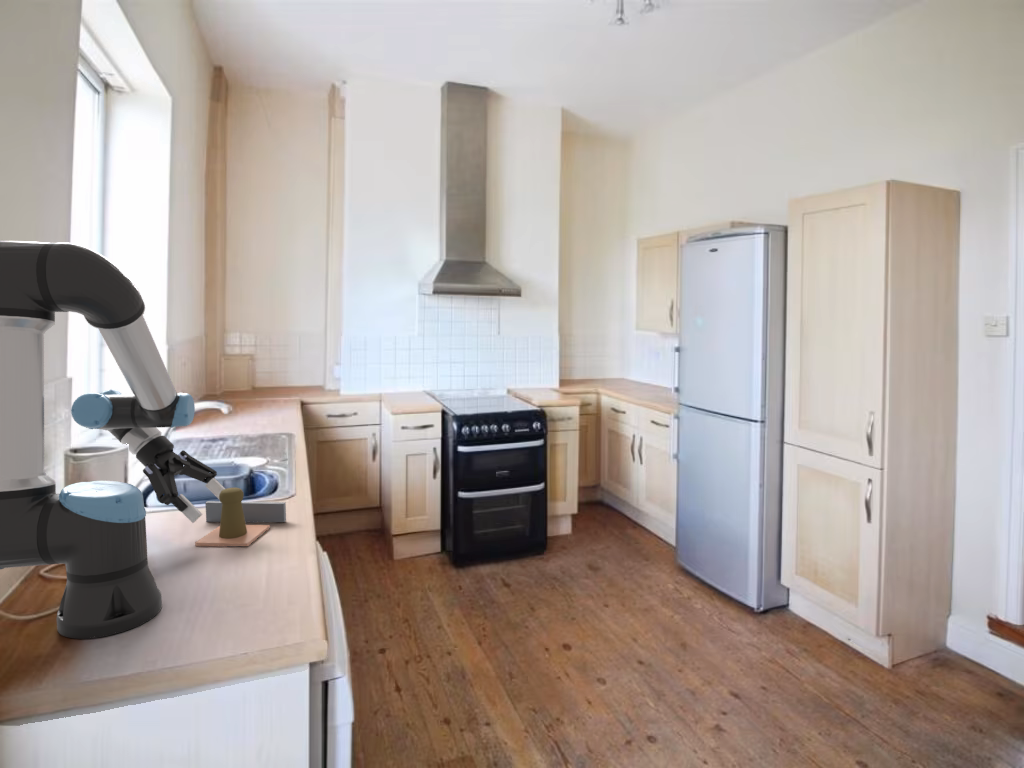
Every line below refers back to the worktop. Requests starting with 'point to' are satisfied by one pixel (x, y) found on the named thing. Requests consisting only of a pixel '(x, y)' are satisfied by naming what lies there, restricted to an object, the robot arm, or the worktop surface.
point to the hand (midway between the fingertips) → (213, 509)
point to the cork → (232, 514)
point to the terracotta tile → (244, 540)
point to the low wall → (250, 511)
